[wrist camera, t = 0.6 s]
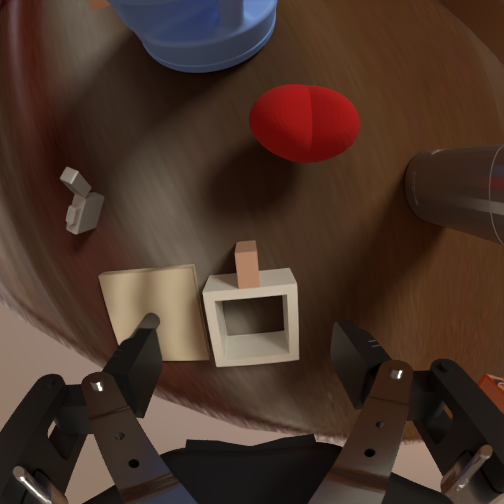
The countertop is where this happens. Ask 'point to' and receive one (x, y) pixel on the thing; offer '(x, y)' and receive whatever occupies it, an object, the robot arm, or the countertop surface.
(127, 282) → the beige peg base
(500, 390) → the pasta box
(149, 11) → the water jug
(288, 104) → the red heart
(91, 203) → the lighter
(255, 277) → the white square frame
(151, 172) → the countertop surface
